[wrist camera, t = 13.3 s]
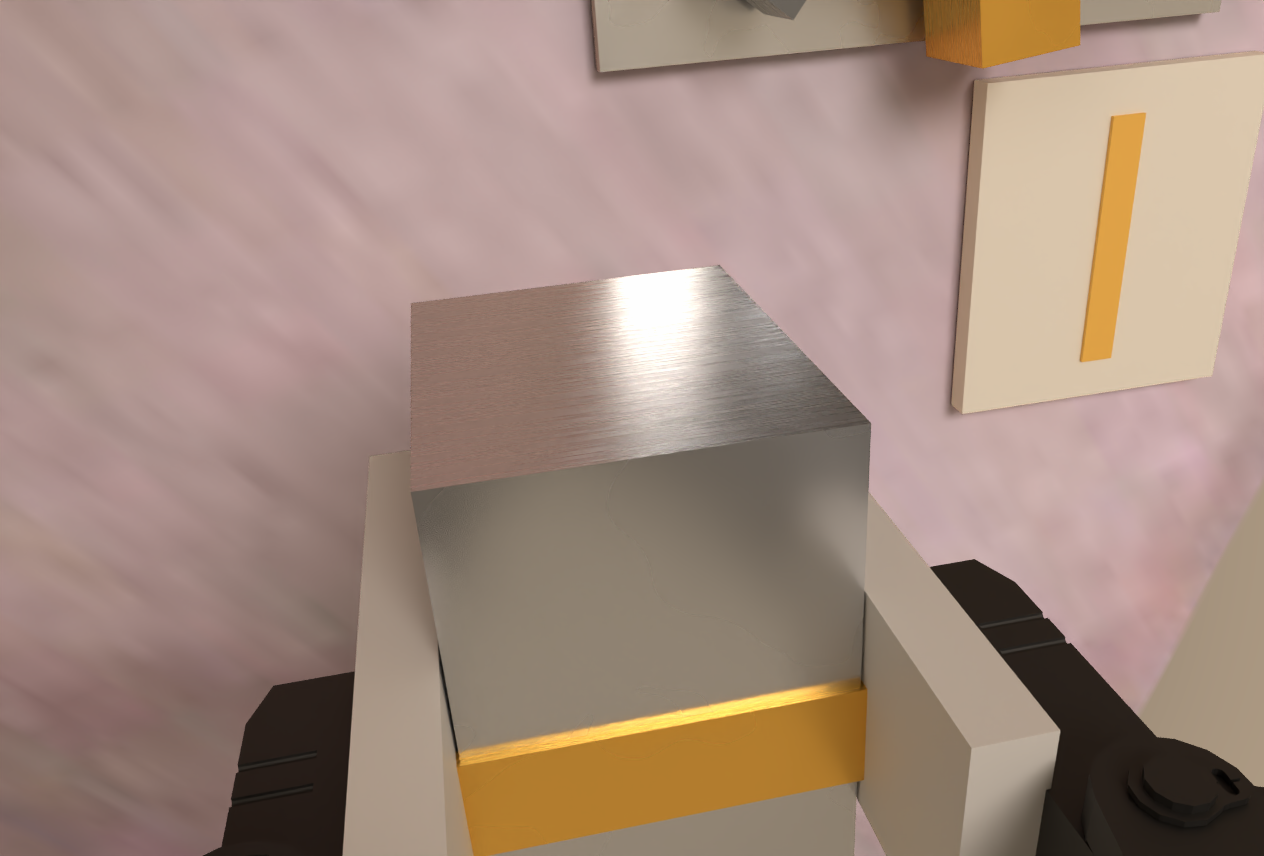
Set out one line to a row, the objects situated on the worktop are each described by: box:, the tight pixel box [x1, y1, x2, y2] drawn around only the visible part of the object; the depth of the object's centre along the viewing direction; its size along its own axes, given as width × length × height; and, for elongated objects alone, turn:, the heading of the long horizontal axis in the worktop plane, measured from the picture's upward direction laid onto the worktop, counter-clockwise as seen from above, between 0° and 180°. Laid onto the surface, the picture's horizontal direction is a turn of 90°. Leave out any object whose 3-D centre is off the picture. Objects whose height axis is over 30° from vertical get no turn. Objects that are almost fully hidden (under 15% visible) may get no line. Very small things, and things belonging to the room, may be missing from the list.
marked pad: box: [951, 51, 1264, 414], centre depth 25 cm, size 7×8×1 cm
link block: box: [411, 265, 871, 856], centre depth 12 cm, size 4×7×5 cm, turn 5°
